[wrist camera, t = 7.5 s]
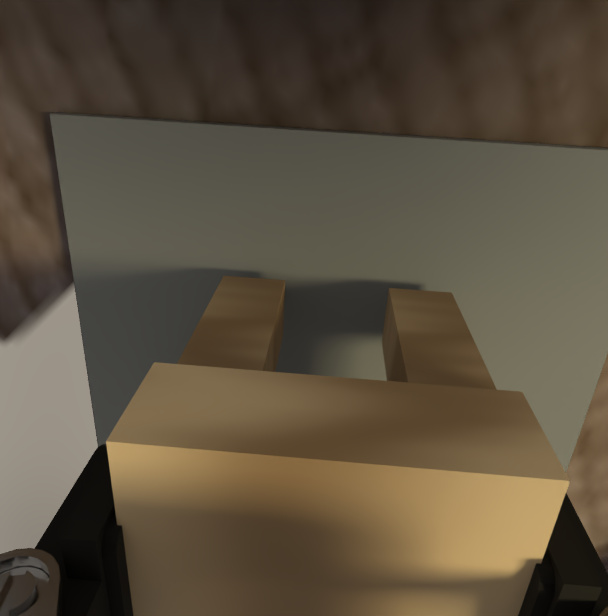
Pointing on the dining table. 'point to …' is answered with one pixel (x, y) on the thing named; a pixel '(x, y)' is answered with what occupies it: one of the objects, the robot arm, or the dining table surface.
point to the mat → (336, 248)
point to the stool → (330, 473)
